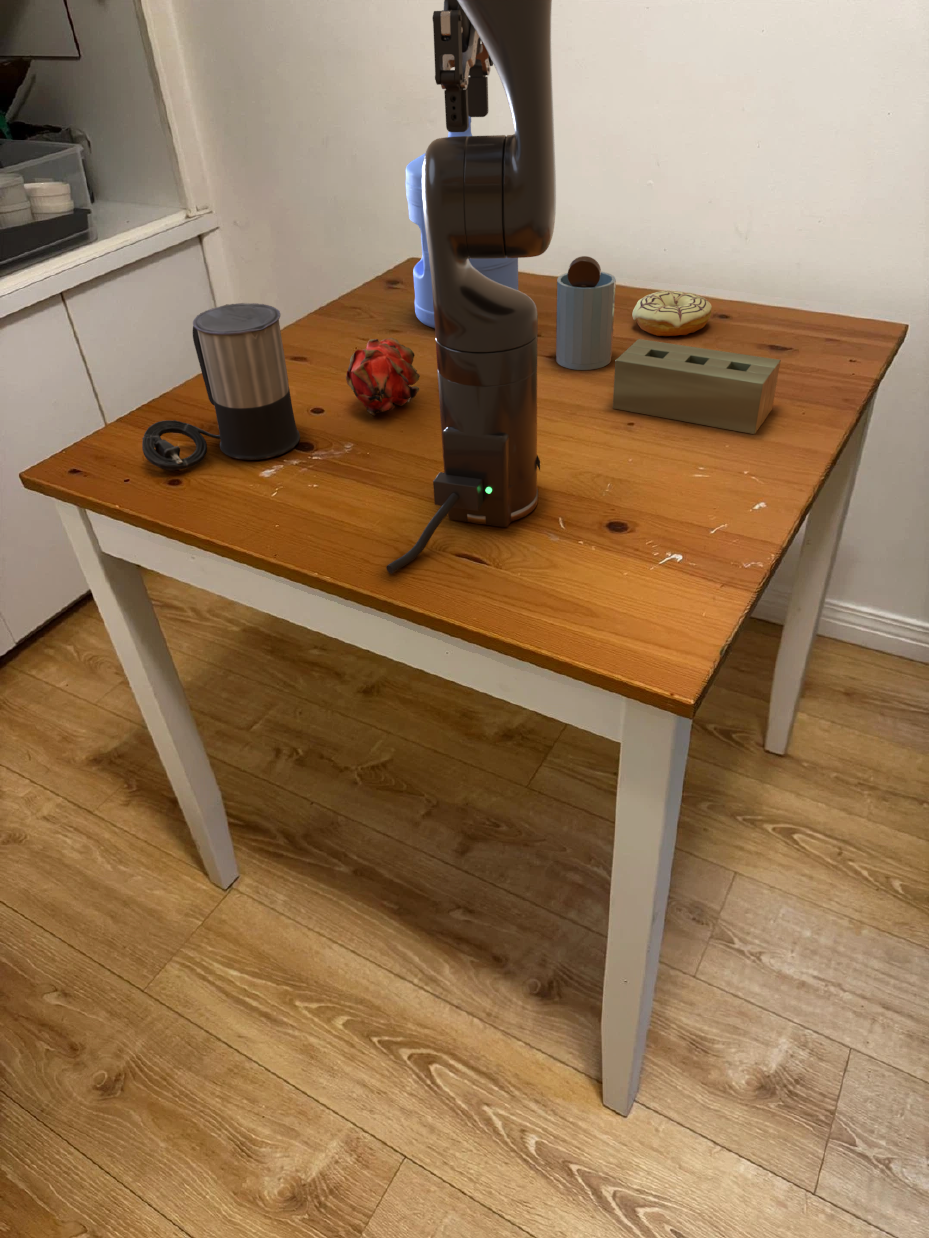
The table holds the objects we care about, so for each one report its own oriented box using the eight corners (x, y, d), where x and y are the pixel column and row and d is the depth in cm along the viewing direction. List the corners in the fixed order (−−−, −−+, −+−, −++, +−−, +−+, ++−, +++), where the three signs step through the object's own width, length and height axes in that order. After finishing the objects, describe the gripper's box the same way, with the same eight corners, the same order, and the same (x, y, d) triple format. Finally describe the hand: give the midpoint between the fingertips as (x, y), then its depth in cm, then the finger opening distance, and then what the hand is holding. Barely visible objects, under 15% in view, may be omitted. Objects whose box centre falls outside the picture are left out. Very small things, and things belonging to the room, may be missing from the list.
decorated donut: (618, 330, 130) (620, 303, 127) (658, 308, 136) (660, 282, 134) (683, 344, 124) (686, 317, 122) (722, 321, 130) (725, 295, 128)
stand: (754, 434, 102) (763, 383, 98) (612, 408, 109) (615, 360, 105) (772, 409, 107) (780, 359, 103) (635, 385, 114) (638, 338, 110)
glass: (604, 372, 118) (608, 290, 112) (549, 367, 120) (550, 286, 114) (616, 352, 123) (621, 272, 117) (563, 347, 125) (565, 269, 119)
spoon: (599, 351, 121) (601, 255, 111) (598, 357, 120) (600, 261, 110) (569, 350, 122) (568, 255, 112) (568, 356, 121) (567, 261, 111)
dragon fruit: (398, 394, 119) (389, 448, 111) (340, 361, 116) (326, 414, 108) (432, 345, 114) (425, 398, 105) (373, 309, 111) (361, 360, 102)
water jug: (538, 306, 139) (539, 97, 122) (484, 340, 129) (478, 116, 112) (452, 293, 146) (441, 93, 129) (395, 324, 136) (375, 111, 119)
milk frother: (317, 435, 107) (298, 308, 98) (225, 495, 96) (193, 359, 87) (226, 413, 113) (200, 292, 104) (130, 467, 102) (92, 338, 93)
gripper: (443, -68, 93) (451, 113, 102) (399, -65, 82) (414, 137, 91) (515, -72, 91) (517, 112, 101) (481, -70, 80) (487, 137, 90)
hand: (468, 124), depth 96 cm, fingers open, 8 cm apart
